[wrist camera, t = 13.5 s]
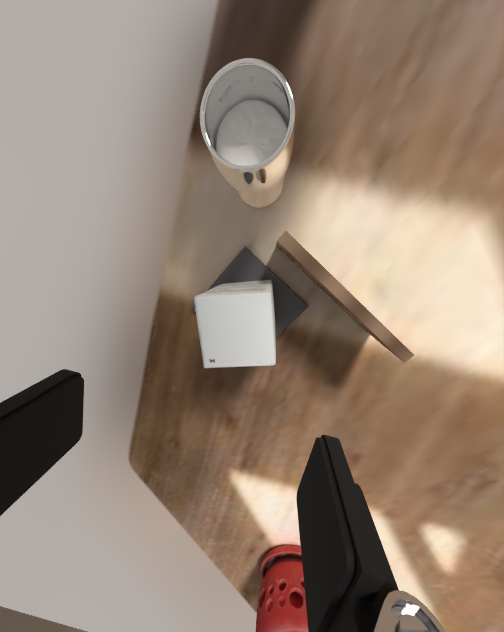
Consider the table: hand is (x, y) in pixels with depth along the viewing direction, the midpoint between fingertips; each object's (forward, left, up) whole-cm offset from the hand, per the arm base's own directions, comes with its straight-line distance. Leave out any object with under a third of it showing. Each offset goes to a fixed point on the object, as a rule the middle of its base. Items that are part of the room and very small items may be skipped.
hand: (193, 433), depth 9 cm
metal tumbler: (-16, -2, -27) cm, 31 cm away
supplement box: (0, 0, -26) cm, 26 cm away
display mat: (+1, 0, -26) cm, 26 cm away
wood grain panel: (-5, +10, -26) cm, 28 cm away
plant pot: (+49, +19, -27) cm, 58 cm away
